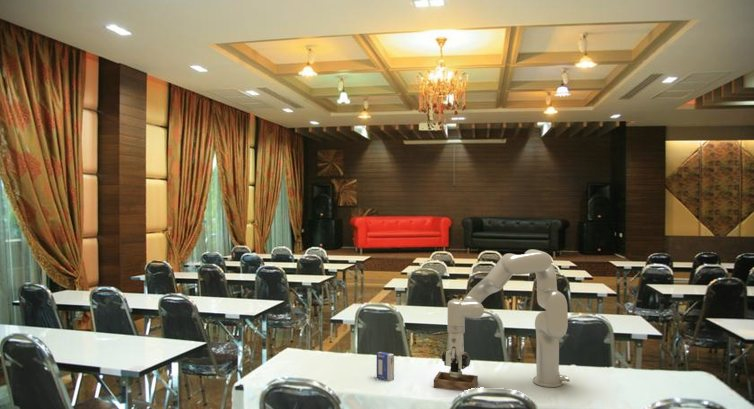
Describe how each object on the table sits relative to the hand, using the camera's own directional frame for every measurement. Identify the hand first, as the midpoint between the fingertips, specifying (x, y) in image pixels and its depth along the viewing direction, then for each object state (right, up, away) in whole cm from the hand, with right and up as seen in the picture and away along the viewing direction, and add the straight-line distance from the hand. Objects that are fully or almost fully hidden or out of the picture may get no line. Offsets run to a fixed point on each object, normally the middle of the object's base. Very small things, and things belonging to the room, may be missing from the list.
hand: (455, 369), depth 234 cm
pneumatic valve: (0, -3, 0) cm, 3 cm away
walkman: (-31, -7, +9) cm, 33 cm away
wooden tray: (0, -7, 0) cm, 7 cm away
